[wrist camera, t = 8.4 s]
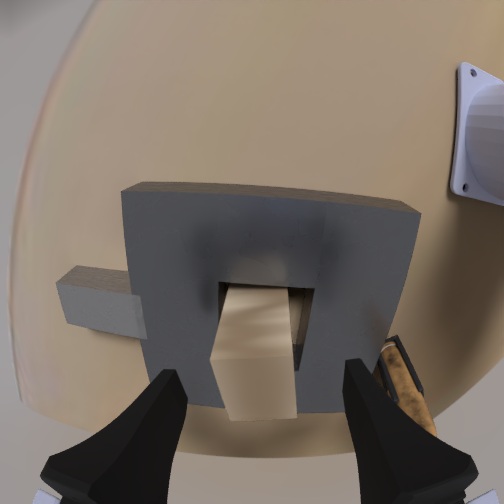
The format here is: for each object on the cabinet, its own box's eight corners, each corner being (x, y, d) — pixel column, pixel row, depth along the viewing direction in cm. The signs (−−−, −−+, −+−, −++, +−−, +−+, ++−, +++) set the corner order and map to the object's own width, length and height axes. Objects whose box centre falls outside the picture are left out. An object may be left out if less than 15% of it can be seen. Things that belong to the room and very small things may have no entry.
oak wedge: (285, 269, 16) (292, 355, 10) (291, 326, 18) (297, 418, 11) (232, 274, 17) (209, 359, 10) (243, 330, 18) (230, 421, 12)
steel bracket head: (401, 200, 14) (421, 213, 12) (349, 386, 20) (354, 411, 18) (65, 183, 15) (40, 193, 13) (101, 360, 20) (88, 380, 18)
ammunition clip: (409, 411, 21) (442, 519, 10) (390, 418, 22) (419, 528, 11) (397, 333, 18) (463, 486, 7) (372, 344, 18) (425, 503, 7)
